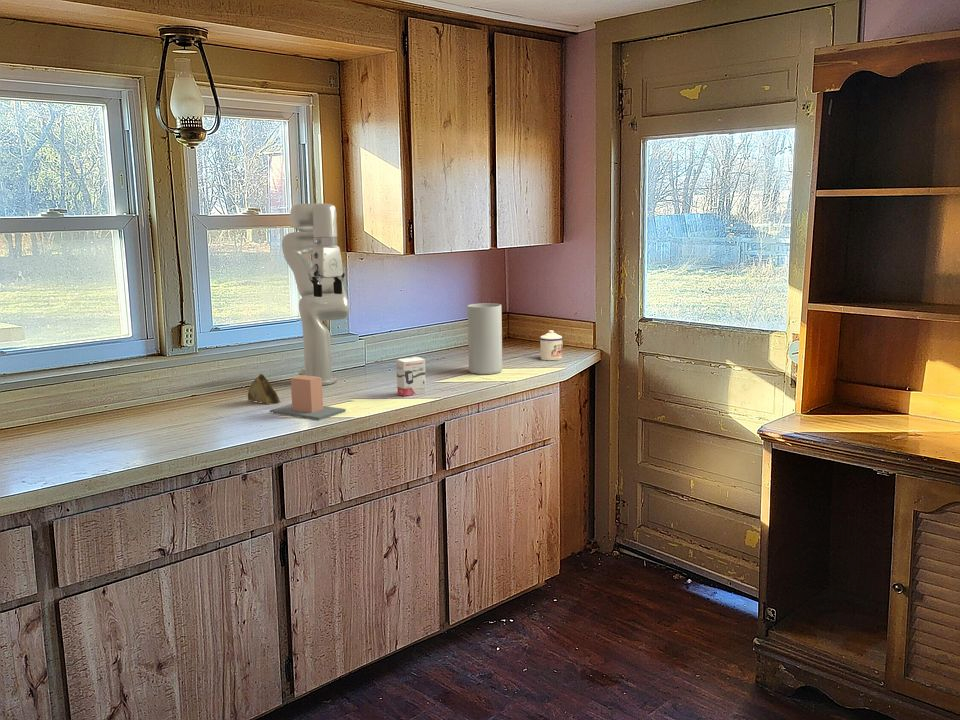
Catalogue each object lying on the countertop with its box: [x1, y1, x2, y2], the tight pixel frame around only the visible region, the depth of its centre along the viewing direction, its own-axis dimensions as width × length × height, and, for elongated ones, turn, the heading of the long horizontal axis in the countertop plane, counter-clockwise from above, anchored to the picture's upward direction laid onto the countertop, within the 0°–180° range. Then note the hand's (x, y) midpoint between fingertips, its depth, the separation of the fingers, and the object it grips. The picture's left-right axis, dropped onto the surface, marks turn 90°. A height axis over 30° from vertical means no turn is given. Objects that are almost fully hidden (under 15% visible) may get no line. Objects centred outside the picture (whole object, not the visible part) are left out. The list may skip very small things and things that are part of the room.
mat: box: [269, 403, 347, 421], centre depth 265 cm, size 20×12×1 cm, turn 58°
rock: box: [247, 373, 281, 405], centre depth 280 cm, size 11×9×10 cm
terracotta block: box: [290, 375, 324, 413], centre depth 264 cm, size 5×8×10 cm, turn 58°
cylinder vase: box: [467, 302, 503, 375], centre depth 322 cm, size 12×12×25 cm
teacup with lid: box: [539, 329, 564, 361], centre depth 348 cm, size 12×9×12 cm
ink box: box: [395, 356, 427, 397], centre depth 287 cm, size 8×5×12 cm, turn 123°
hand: (328, 295), depth 283 cm, fingers open, 9 cm apart
